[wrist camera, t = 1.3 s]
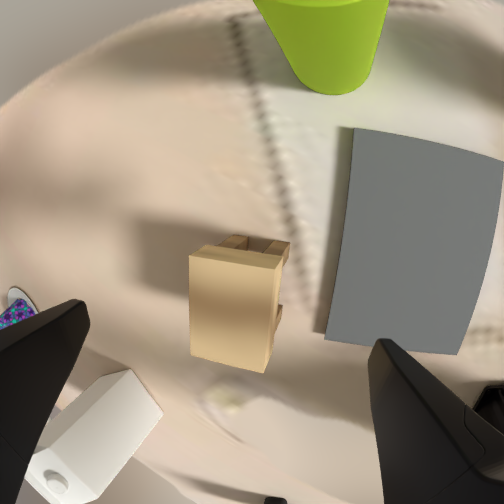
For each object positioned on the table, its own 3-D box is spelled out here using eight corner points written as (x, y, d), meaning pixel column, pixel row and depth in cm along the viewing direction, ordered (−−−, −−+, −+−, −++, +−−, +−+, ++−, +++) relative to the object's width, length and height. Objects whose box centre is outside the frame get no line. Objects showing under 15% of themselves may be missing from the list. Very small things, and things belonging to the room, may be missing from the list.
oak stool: (284, 322, 25) (263, 373, 18) (226, 310, 26) (190, 355, 19) (294, 239, 23) (274, 269, 16) (230, 230, 24) (189, 255, 17)
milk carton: (131, 416, 35) (51, 506, 18) (101, 375, 34) (6, 461, 17) (165, 412, 33) (78, 523, 15) (131, 367, 32) (23, 472, 14)
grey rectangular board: (454, 350, 21) (456, 355, 20) (325, 334, 24) (324, 339, 23) (499, 161, 16) (504, 161, 16) (353, 129, 19) (354, 127, 19)
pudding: (60, 336, 36) (35, 353, 31) (43, 364, 40) (23, 379, 35) (17, 271, 35) (-9, 282, 30) (6, 308, 40) (-15, 320, 35)
